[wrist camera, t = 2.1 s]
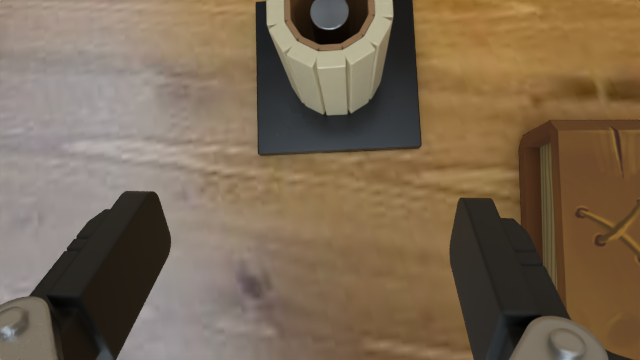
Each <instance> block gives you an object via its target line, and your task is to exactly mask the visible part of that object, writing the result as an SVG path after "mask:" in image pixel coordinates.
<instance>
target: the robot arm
mask: <svg viewBox="0 0 640 360" xmlns="http://www.w3.org/2000/svg"><path fill="white" fill-rule="evenodd" d="M170 247H171V236H170V232H169V229H168V225H167V222H166V219H165V216H164V213H163V209H162V206H161V203H160V200H159V197H158V195H157V194H156V193H155V192H151V191H125V192H124V193H122V194H121V196H120V197H119V198H118V200H117V201H116V202H115V204H114V205H113V206H112V208H111V209H105V210H104V211H102V212H101V213H99V214H98V215H97V216H95V217H94V218H92V219H91V220H90V221H88V222H87V224H86V225H85V226H84V227H83V229H82V230H81V231H80V232H79V234H78V235H77V238H76V239H74V240H73V241H72V242H71V244H70V245H69V246H68V248H67V251H64V253H63V254H62V255H61V256H60V258H59V259H58V260H57V261H56V263H55V264H54V265H53V266H52V268H51V269H50V270H49V271H48V273H47V274H46V275H45V277H44V278H43V279H42V280H41V282H40V283H39V284H38V285H37V287H36V288H35V289H34V290H33V292H32V293H31V294H30V295H29V297H21V298H17V299H14V300H11V301H8V302H6V303H4V304H2V305H0V360H116V359H117V357H118V355H119V353H120V351H121V349H122V347H123V345H124V343H125V341H126V339H127V337H128V335H129V333H130V331H131V329H132V327H133V325H134V323H135V321H136V319H137V317H138V315H139V313H140V311H141V309H142V307H143V305H144V303H145V301H146V299H147V297H148V295H149V293H150V291H151V289H152V287H153V285H154V283H155V281H156V279H157V277H158V275H159V273H160V271H161V269H162V267H163V266H164V264H165V262H166V260H167V258H168V255H169V252H170ZM450 264H451V268H452V272H453V276H454V280H455V285H456V289H457V293H458V297H459V301H460V305H461V309H462V313H463V317H464V321H465V325H466V329H467V333H468V337H469V342H470V346H471V350H472V354H473V358H474V360H633V359H630V358H627V357H624V356H620V355H618V354H615V353H612V352H610V351H608V350H606V349H605V348H604V347H603V345H602V344H601V342H600V341H599V340H598V339H597V338H596V336H595V335H593V334H592V333H591V332H590V331H589V330H587V329H586V328H585V327H583V326H581V325H580V324H578V323H576V322H574V321H572V320H571V318H570V316H569V314H568V312H567V310H566V308H565V306H564V304H563V302H562V300H561V298H560V296H559V294H558V292H557V290H556V288H555V286H554V284H553V282H552V280H551V278H550V276H549V273H548V271H547V269H546V267H545V266H543V261H542V259H541V257H540V255H539V253H538V252H536V247H535V245H534V243H533V241H532V239H531V237H530V235H529V233H528V232H527V231H526V230H525V229H524V228H523V227H522V226H521V225H519V224H518V223H517V222H516V221H515V220H514V219H509V218H500V216H499V213H498V211H497V209H496V206H495V204H494V202H493V200H492V199H491V198H460V199H459V201H458V204H457V209H456V214H455V219H454V225H453V230H452V235H451V240H450Z"/></svg>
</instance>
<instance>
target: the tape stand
mask: <svg viewBox="0 0 640 360" xmlns="http://www.w3.org/2000/svg"><path fill="white" fill-rule="evenodd" d="M310 19H311V24H312V29H313V35H314V40H315V43H317V44H319V45H326V44H341V43H343V42H344V41H346V40H347V39H349V38H350V11H349V5H348V3H347V1H346V0H314V1H313V3H312V5H311V7H310ZM256 57H257V123H258V154H259V155H261V156H265V155H287V154H309V153H330V152H352V151H374V150H396V149H418V148H420V147H421V131H420V115H419V99H418V83H417V67H416V51H415V35H414V19H413V3H412V0H393V21H392V26H391V31H390V36H389V41H388V47H387V52H386V57H385V62H384V67H383V72H382V77H381V82H380V84H379V86H378V88H377V90H376V92H375V93H374V95H373V97H372V99H369V102H368V103H367V104H365V105H364V106H362V107H360V108H359V109H357V110H356V111H354V112H352V113H350V111H349V110H348V114H346V115H327V114H326V111H325V113H324V114H321V113H319V112H317V111H315V110H313V109H311V108H309V107H307V106H305V103H302V102H301V100H300V99H299V97H298V96H297V94H296V92H295V91H294V89H293V88H292V85H291V83H290V81H289V78H288V76H287V73H286V71H285V69H284V66H283V64H282V61H281V59H280V57H279V54H278V52H277V49H276V47H275V45H274V42H273V40H272V37H271V35H270V33H269V29H268V26H267V11H266V1H263V2H256Z"/></svg>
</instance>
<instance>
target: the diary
mask: <svg viewBox="0 0 640 360" xmlns="http://www.w3.org/2000/svg"><path fill="white" fill-rule="evenodd" d="M519 171H520V198H521V225H522V227H523V228H524V229H525V230H526V231H527V232H528V233H529V235H530V237H531V239H532V241H533V243H534V245H535V247H536V252H538V253H539V255H540V257H541V259H542V261H543V266H545V267H546V269H547V271H548V273H549V276H550V278H551V280H552V282H553V284H554V286H555V288H556V290H557V292H558V294H559V296H560V298H561V300H562V302H563V304H564V306H565V308H566V310H567V312H568V314H569V316H570V318H571V320H572V321H574V322H576V323H578V324H580V325H581V326H583V327H585V328H586V329H587V330H589V331H590V332H591V333H592V334H593V335H595V336H596V338H597V339H598V340H599V341H600V342H601V344H602V345H603V347H604V348H605V349H606V350H608V351H610V352H612V353H615V354H618V355H620V356H624V357H627V358H630V359H633V360H640V120H549V121H548V122H546V123H544V124H542V125H540V126H539V127H537V128H535V129H533V130H532V131H530V132H528V133H526V134H525V135H523V138H522V141H521V144H520V147H519Z"/></svg>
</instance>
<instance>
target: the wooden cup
mask: <svg viewBox="0 0 640 360" xmlns="http://www.w3.org/2000/svg"><path fill="white" fill-rule="evenodd" d="M313 1H314V0H266V11H267V26H268V29H269V33H270V35H271V37H272V40H273V42H274V45H275V47H276V49H277V52H278V54H279V57H280V59H281V61H282V64H283V66H284V69H285V71H286V73H287V76H288V78H289V81H290V83H291V85H292V88H293V89H294V91H295V92H296V94H297V96H298V97H299V99H300V100H301V102H302V103H305V106H307V107H309V108H311V109H313V110H315V111H317V112H319V113H321V114H324V113H325V111H326V114H327V115H346V114H348V110H349V111H350V113H352V112H354V111H356V110H357V109H359V108H360V107H362V106H364V105H365V104H367V103H368V102H369V99H372V97H373V95H374V93H375V92H376V90H377V88H378V86H379V84H380V82H381V77H382V72H383V67H384V62H385V57H386V52H387V47H388V41H389V36H390V31H391V26H392V21H393V0H346V1H347V3H348V5H349V11H350V38H349V39H347V40H346V41H344V42H343V43H341V44H326V45H319V44H317V43H315V40H314V35H313V29H312V24H311V19H310V7H311V5H312V3H313Z"/></svg>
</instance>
